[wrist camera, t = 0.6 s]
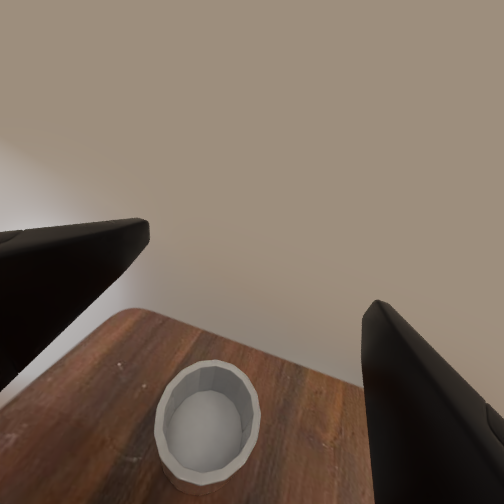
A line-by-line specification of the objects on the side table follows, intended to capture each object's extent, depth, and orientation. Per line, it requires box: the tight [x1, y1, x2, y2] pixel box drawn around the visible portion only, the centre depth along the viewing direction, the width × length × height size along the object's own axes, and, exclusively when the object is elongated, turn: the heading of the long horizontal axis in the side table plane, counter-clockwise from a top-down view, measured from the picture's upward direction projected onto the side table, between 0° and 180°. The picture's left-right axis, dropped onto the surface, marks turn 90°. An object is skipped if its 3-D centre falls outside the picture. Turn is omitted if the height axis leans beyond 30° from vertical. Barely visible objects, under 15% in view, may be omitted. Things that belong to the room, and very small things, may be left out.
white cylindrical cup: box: [154, 360, 261, 496], centre depth 16 cm, size 7×7×5 cm
